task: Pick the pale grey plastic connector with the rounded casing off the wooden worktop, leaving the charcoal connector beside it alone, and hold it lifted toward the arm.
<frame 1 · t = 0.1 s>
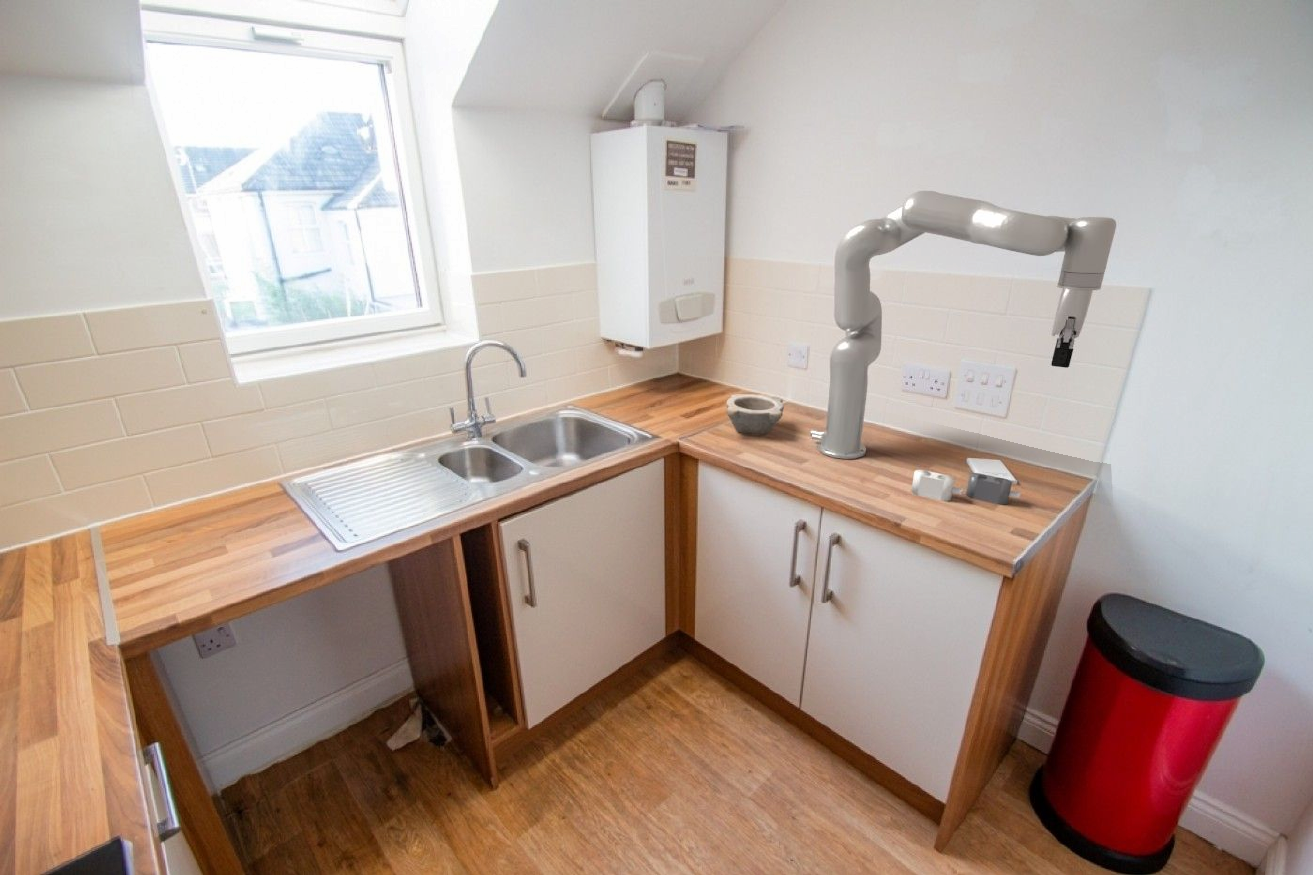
hand: (1060, 361, 130), 31 cm above the worktop, tool pointing down, fingers open, 9 cm apart
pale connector: (930, 494, 140), on the worktop
mortar: (753, 431, 180), on the worktop
charcoal connector: (986, 498, 138), on the worktop
external hard drive: (990, 475, 151), on the worktop
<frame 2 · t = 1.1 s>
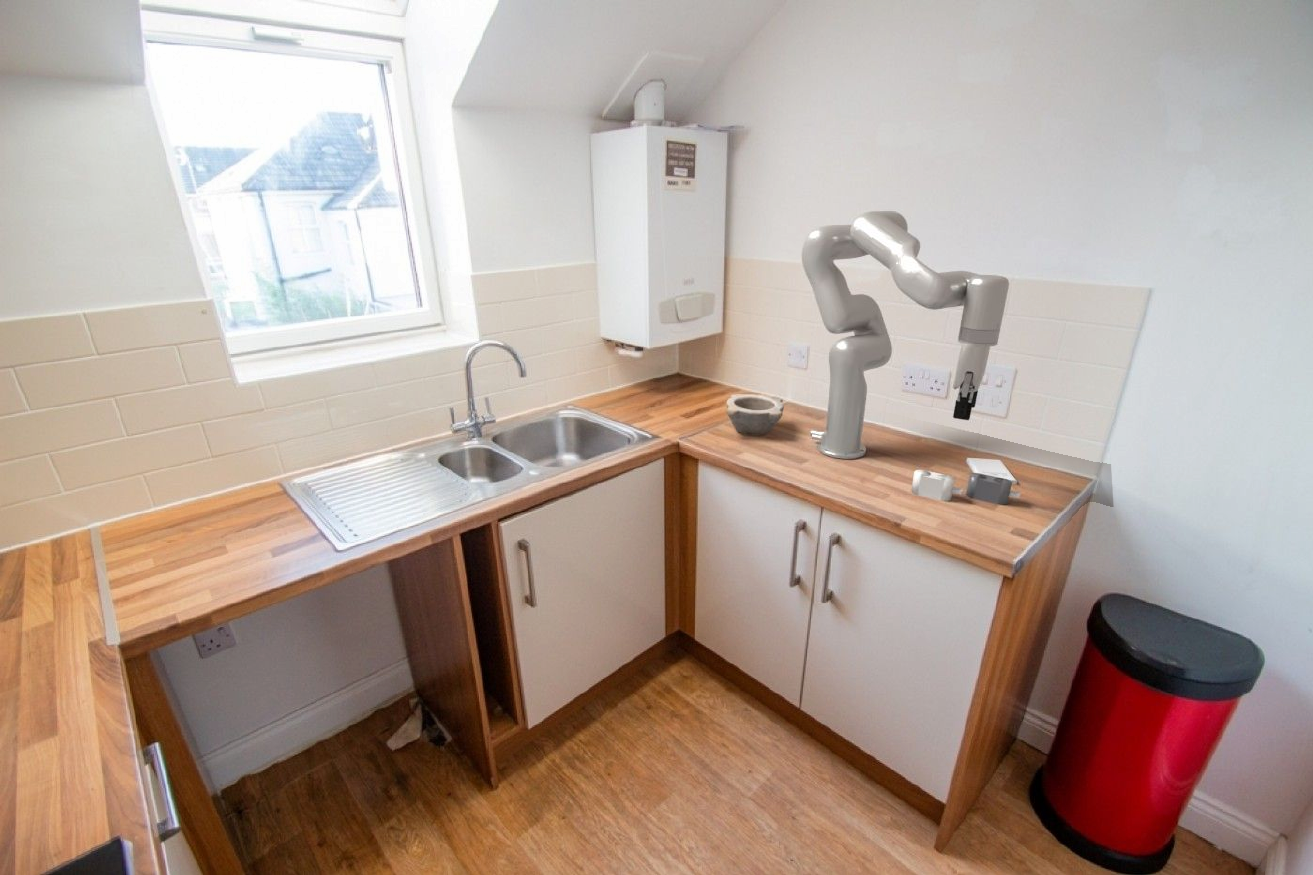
hand: (964, 412, 133), 20 cm above the worktop, tool pointing down, fingers open, 9 cm apart
nothing on the worktop moved.
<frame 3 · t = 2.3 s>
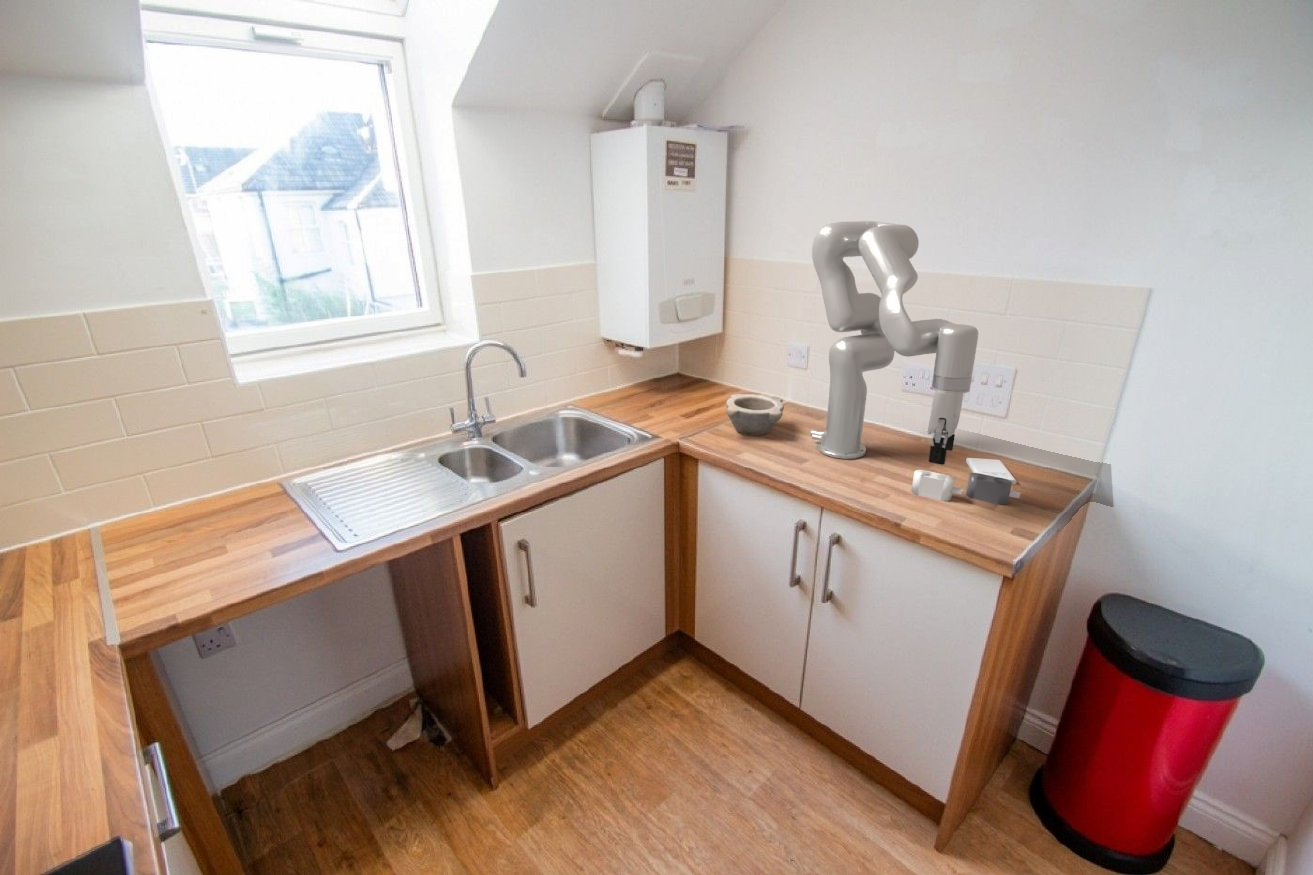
hand: (940, 456, 136), 10 cm above the worktop, tool pointing down, fingers open, 9 cm apart
nothing on the worktop moved.
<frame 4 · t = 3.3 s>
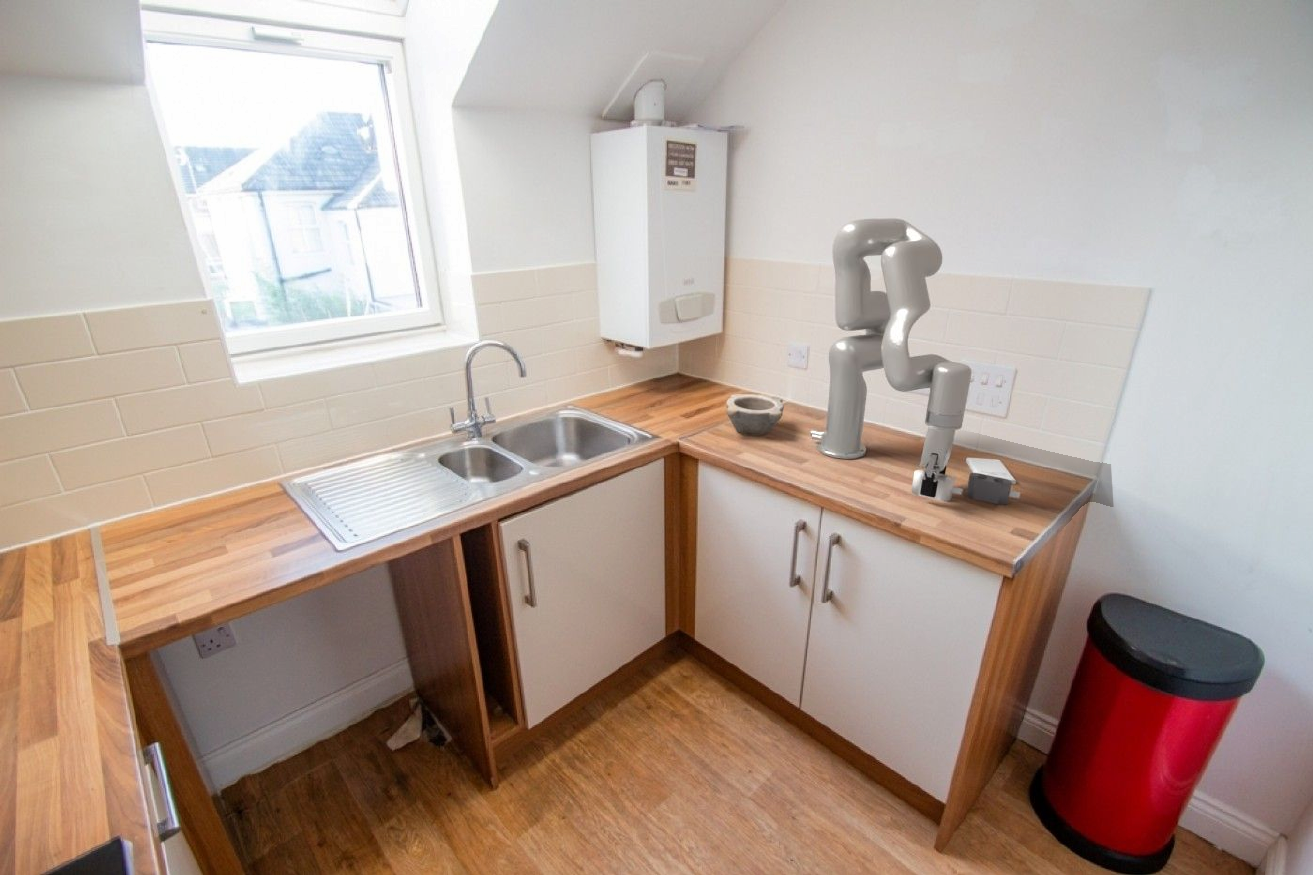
hand: (932, 487, 140), 2 cm above the worktop, tool pointing down, fingers open, 9 cm apart
nothing on the worktop moved.
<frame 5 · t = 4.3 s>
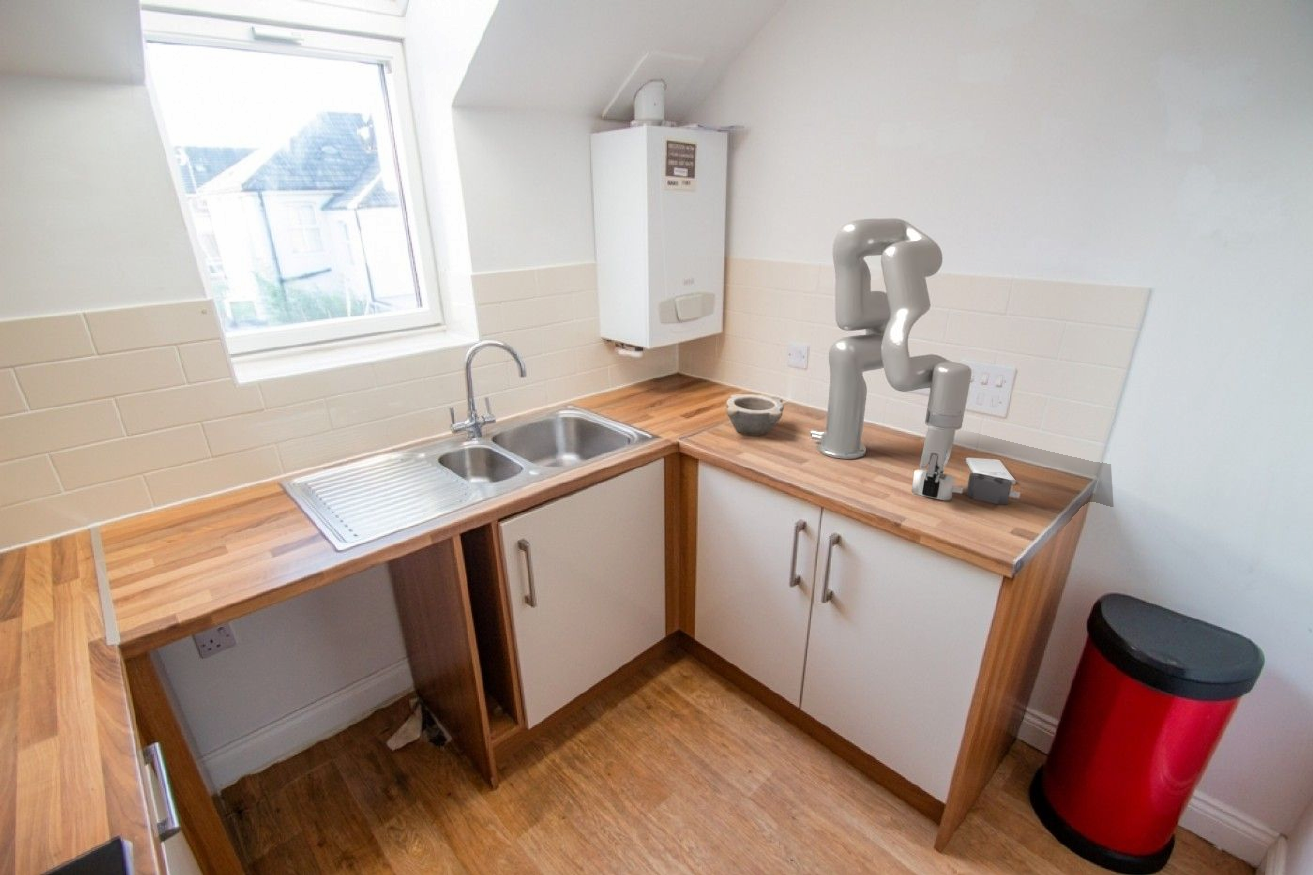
hand: (931, 491, 140), 1 cm above the worktop, tool pointing down, fingers closed on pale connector, 3 cm apart
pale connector: (931, 494, 140), on the worktop, touching gripper
everything else where it was.
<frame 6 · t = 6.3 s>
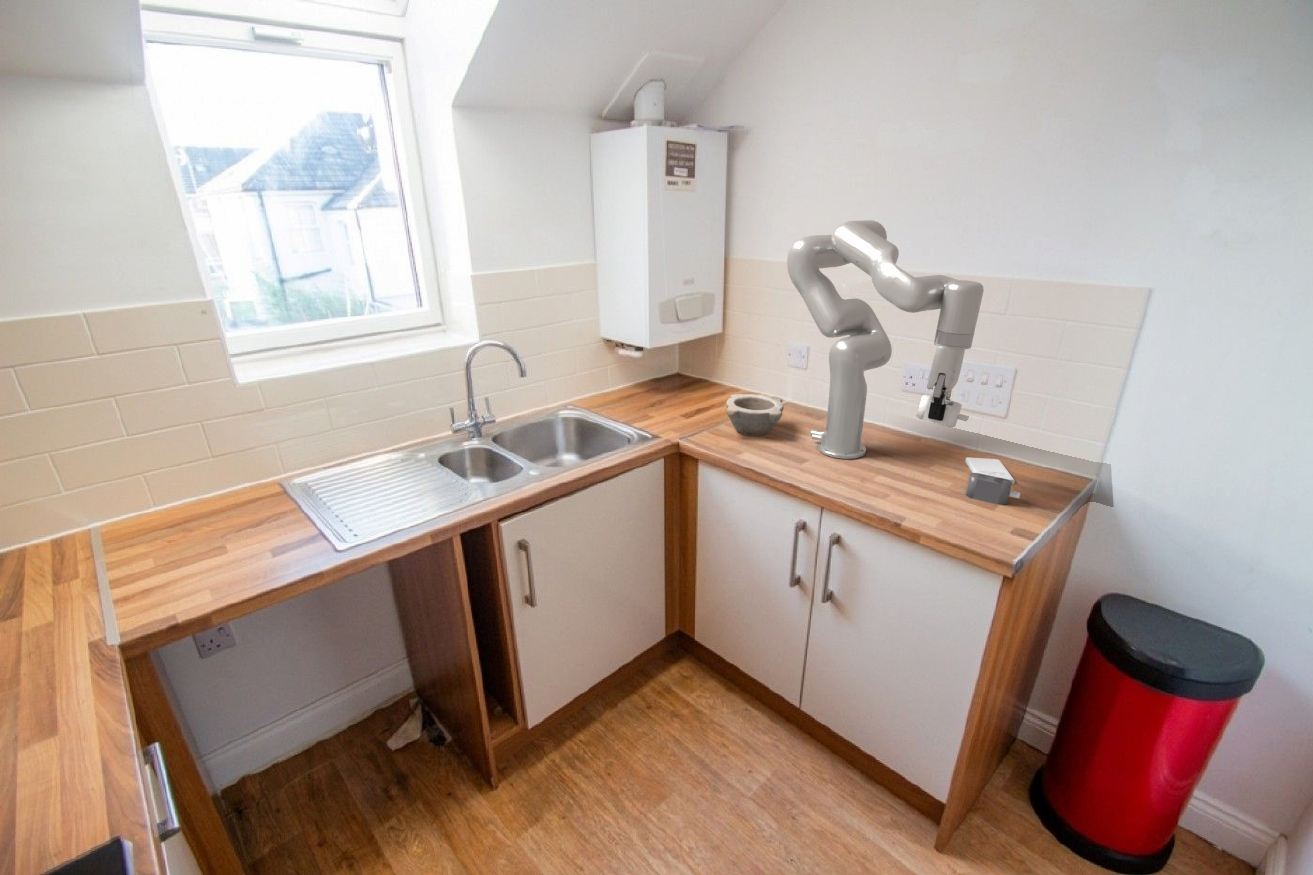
hand: (937, 416, 139), 18 cm above the worktop, tool pointing down, fingers closed on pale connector, 3 cm apart
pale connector: (935, 420, 139), point 16 cm above the worktop, tilted 6°, touching gripper
everything else where it was.
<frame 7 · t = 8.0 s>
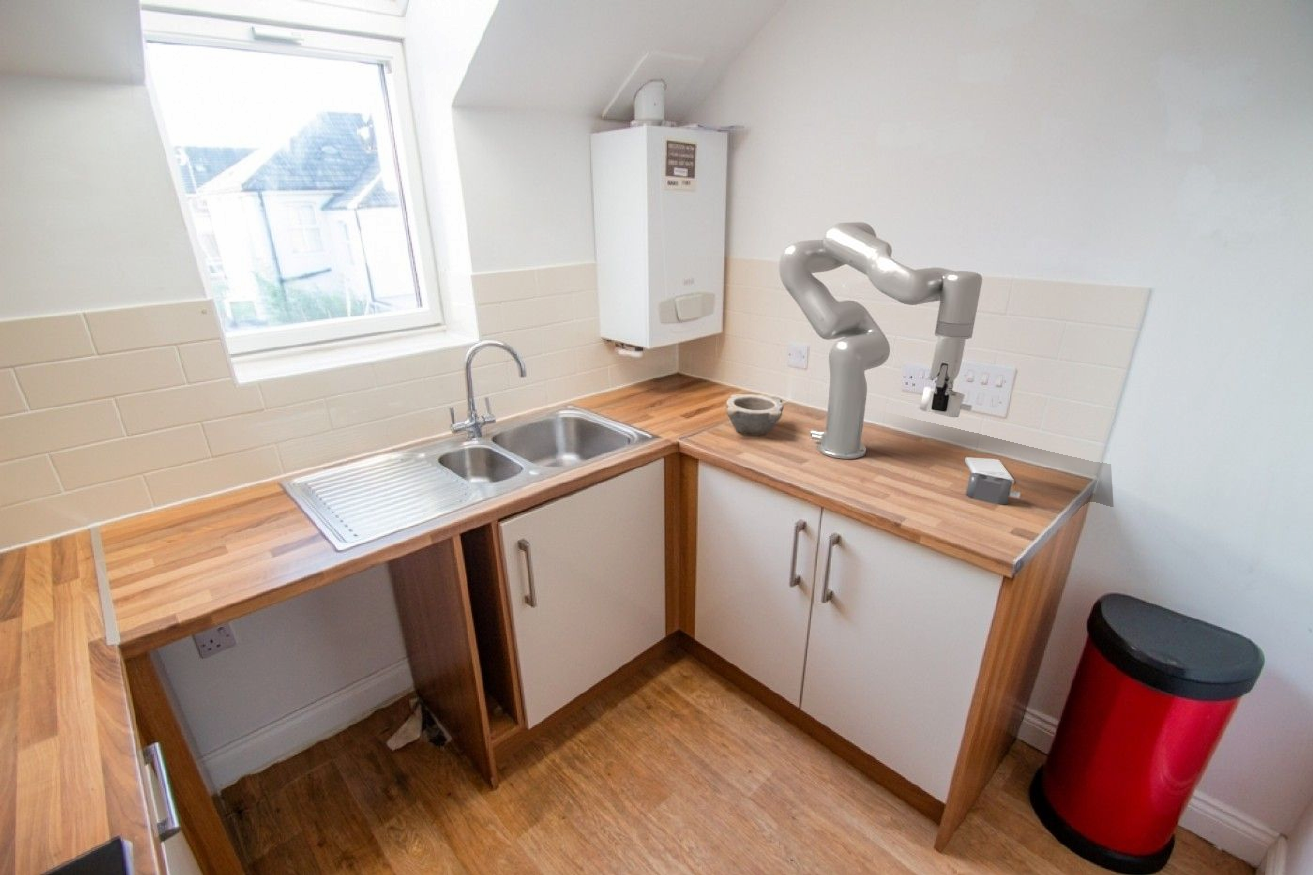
hand: (940, 407, 140), 19 cm above the worktop, tool pointing down, fingers closed on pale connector, 3 cm apart
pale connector: (938, 411, 140), point 18 cm above the worktop, touching gripper
everything else where it was.
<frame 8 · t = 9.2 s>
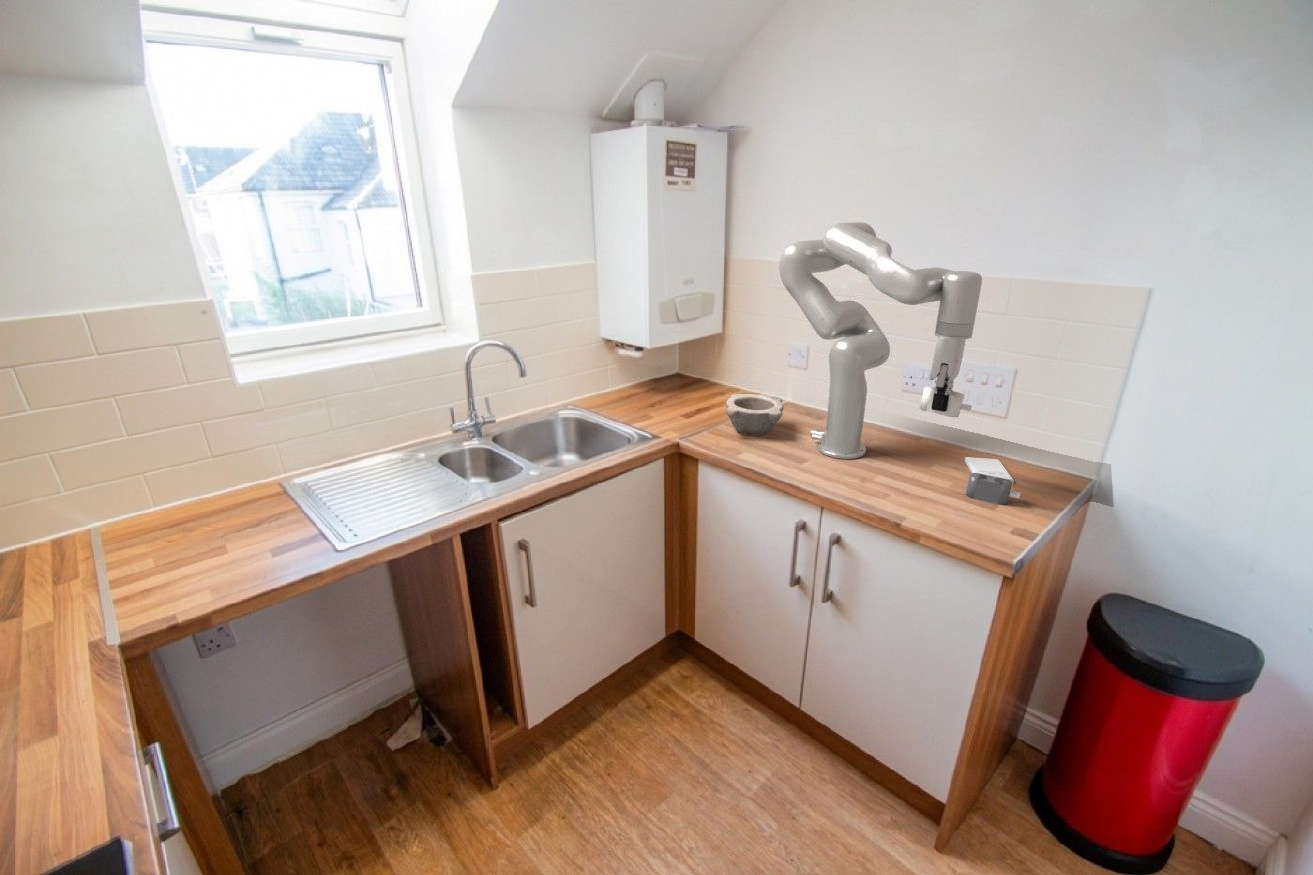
hand: (940, 407, 140), 19 cm above the worktop, tool pointing down, fingers closed on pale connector, 3 cm apart
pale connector: (938, 411, 140), point 18 cm above the worktop, touching gripper
everything else where it was.
at the end: the gripper is holding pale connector; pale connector point 18.0 cm above the worktop; charcoal connector moved 0.0 cm from its start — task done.
